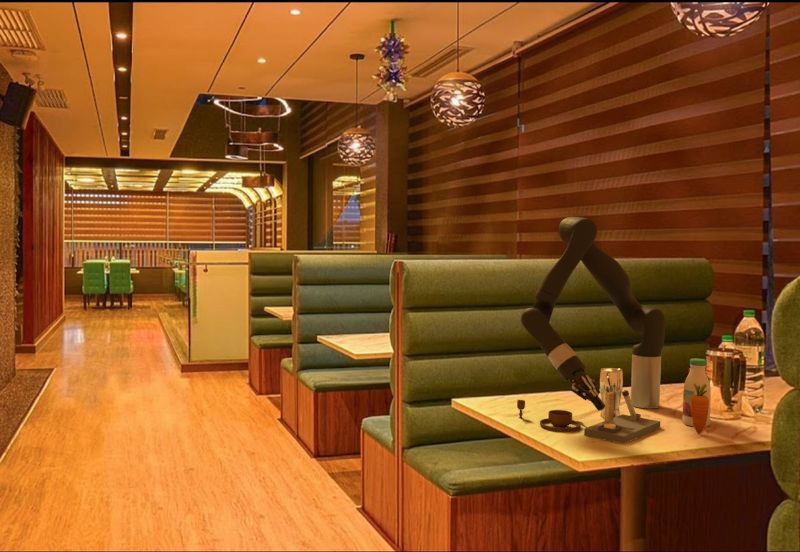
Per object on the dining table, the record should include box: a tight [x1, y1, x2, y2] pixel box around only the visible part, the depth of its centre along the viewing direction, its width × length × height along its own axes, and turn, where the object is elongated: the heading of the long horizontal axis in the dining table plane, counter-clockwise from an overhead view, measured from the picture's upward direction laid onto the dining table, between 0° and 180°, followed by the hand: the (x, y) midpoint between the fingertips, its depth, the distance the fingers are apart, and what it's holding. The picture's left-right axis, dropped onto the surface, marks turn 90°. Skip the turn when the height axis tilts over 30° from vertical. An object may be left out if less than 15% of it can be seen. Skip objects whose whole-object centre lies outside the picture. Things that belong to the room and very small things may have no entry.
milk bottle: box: [682, 357, 712, 428], centre depth 224 cm, size 8×8×20 cm
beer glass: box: [599, 367, 624, 419], centre depth 232 cm, size 7×7×15 cm
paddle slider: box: [602, 392, 615, 424], centre depth 214 cm, size 3×2×9 cm
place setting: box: [516, 399, 588, 433], centre depth 223 cm, size 18×20×6 cm
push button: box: [604, 423, 616, 429], centre depth 209 cm, size 3×3×1 cm
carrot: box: [691, 383, 709, 435], centre depth 213 cm, size 5×5×15 cm
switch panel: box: [583, 412, 661, 445], centre depth 215 cm, size 24×12×4 cm, turn 137°
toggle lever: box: [621, 389, 637, 416], centre depth 222 cm, size 2×2×9 cm
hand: (602, 408), depth 216 cm, fingers closed
